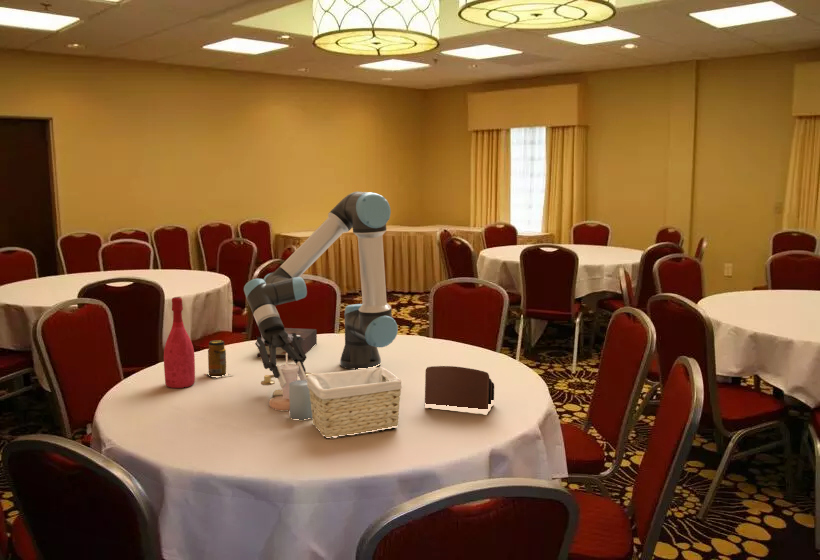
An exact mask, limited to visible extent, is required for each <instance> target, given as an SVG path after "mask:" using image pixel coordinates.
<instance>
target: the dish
mask: <svg viewBox="0 0 820 560" xmlns="http://www.w3.org/2000/svg"><path fill="white" fill-rule="evenodd" d="M269 407H270V408H271V409H272V410H275V409H276V411H281V410H288V411H287V412H290V406H289V399H285V398H283V395H282V396H277V397H272V398H271V399H270V400H269Z"/></svg>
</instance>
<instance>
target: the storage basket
mask: <svg viewBox="0 0 820 560" xmlns="http://www.w3.org/2000/svg"><path fill="white" fill-rule="evenodd" d="M307 387H308V388H309V391H310V393H309V394H310V402H311V410H312V418H311V419H312V425H313V424H314V425H315V426H316V427H317V428H316V427H315V426H314V425H313V426H314V427H315V428H316V430H317V429H319V430H320V432H321V433H322V434H321V433H320V432H319V433H320V434H321V436H322V435H325V437H332V436H339V435H347V434H354V433H361V432H366V431H372V430H377V429H382V428H388V427H392V426H397V425H398V426H399V414H400V411H399V410H400V400H401V392H402V390H401V389H402V380H401V379H400V378H399V377H397V375H395V374H394V373H393V372H391V370H388V369H386V368H384V367H383V366H379V367H376V368H366V369H357V370H355V369H348V370H339V371H332V372H331V371H329V372H321V373H320V372H319V373H312V374H310V375H308V376H307Z"/></svg>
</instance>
